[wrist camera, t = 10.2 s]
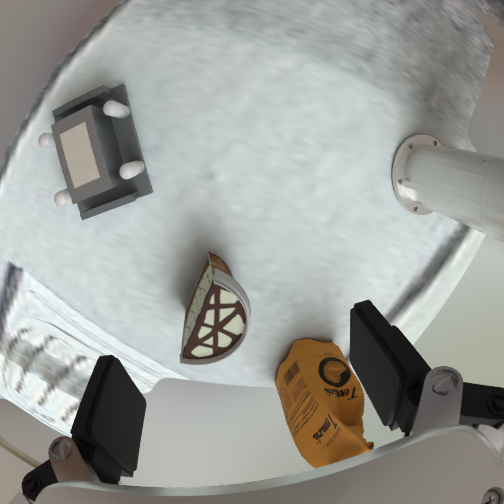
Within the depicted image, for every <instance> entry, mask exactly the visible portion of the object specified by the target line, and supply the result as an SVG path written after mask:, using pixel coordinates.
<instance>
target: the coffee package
mask: <svg viewBox="0 0 504 504" xmlns="http://www.w3.org/2000/svg"><path fill="white" fill-rule="evenodd" d="M275 384H276V387H277V390H278V393H279V396H280V399H281V404H282V408H283V411H284V415H285V418H286V422H287V425H288V427H289V430H290V432H291V435H292V437H293V440H294V442H295V444H296V446H297V448H298V450H299V452H300V454H301V455H302V457H303V458H304V459H305V460H306V461H307V462H308V463H309V464H310V465H311V466H313V467H314V468H319V467H323V466H326V465H329V464H333V463H336V462H339V461H342V460H345V459H348V458H351V457H354V456H357V455H360V454H363V453H366V452H368V451H371V450H373V447H374V443H373V442H368V443H367V441H366V439H364V438H363V437H362V435H363V433H364V429H363V420H362V416H363V412H364V394H363V390H362V387H361V384H360V382H359V381H358V379H357V378H356V376H355V374H354V373H353V371H352V370H351V368H350V366H349V365H348V363H347V361H346V359H345V357H344V355H343V354H342V352H341V350H340V348H339V346H337V345H335V344H334V343H332V342H321V341H315V340H312V339H311V338H308V339H301V340H296V341H295V342H294V343H293V344H292V347H291V349H290V352H289V355H288V357H287V358H286V359H285V360H284V361H283V362H282V364H281V365H280V367H279V370H278V374H277V378H276V382H275Z"/></svg>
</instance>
